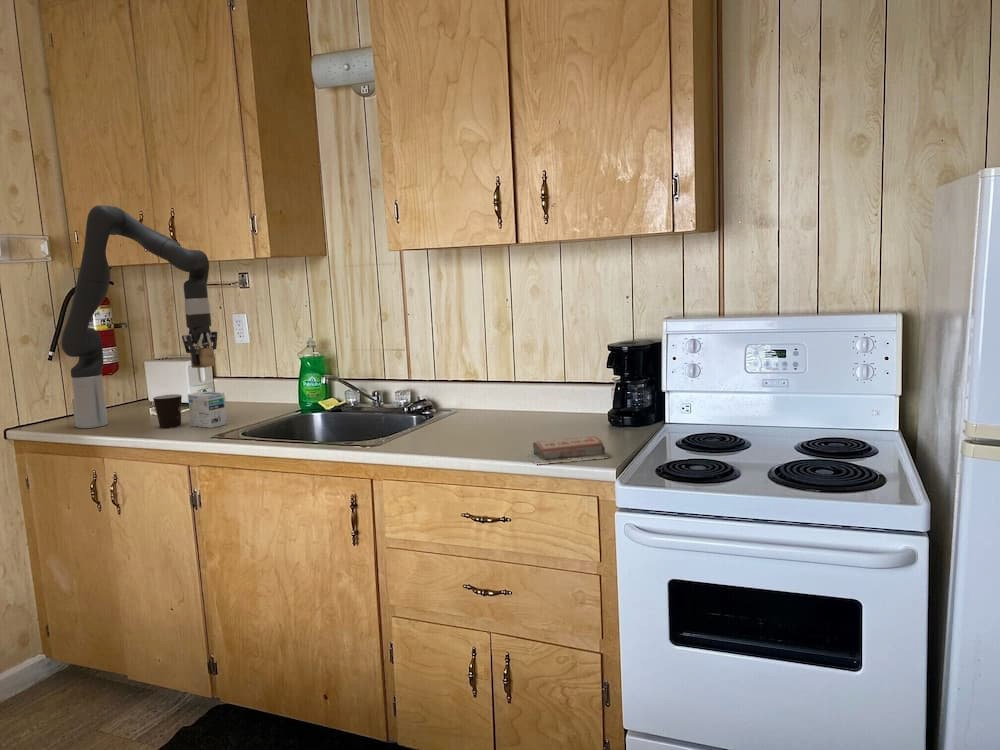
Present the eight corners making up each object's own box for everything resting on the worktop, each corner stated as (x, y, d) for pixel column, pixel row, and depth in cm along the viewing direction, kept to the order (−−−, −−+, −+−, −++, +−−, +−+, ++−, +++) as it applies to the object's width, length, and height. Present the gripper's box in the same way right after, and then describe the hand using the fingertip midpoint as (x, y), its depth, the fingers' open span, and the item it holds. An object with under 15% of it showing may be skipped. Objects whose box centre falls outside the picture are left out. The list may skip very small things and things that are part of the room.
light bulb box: (228, 424, 251) (225, 392, 250) (210, 428, 246) (207, 395, 244) (207, 422, 257) (204, 390, 256) (189, 426, 251) (186, 393, 250)
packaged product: (595, 432, 193) (608, 441, 183) (595, 451, 194) (608, 460, 184) (525, 438, 190) (535, 447, 180) (526, 457, 191) (535, 467, 181)
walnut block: (191, 367, 247) (189, 349, 247) (202, 365, 252) (200, 347, 251) (204, 367, 246) (202, 349, 245) (214, 365, 250) (213, 347, 249)
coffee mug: (174, 429, 248) (171, 398, 246) (150, 429, 249) (147, 398, 248) (195, 421, 259) (192, 392, 257) (172, 422, 261) (169, 393, 259)
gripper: (204, 311, 254) (209, 362, 257) (172, 314, 241) (177, 367, 243) (222, 310, 252) (227, 362, 254) (191, 313, 238) (196, 367, 241)
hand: (202, 364), depth 249 cm, fingers closed on walnut block, 5 cm apart
